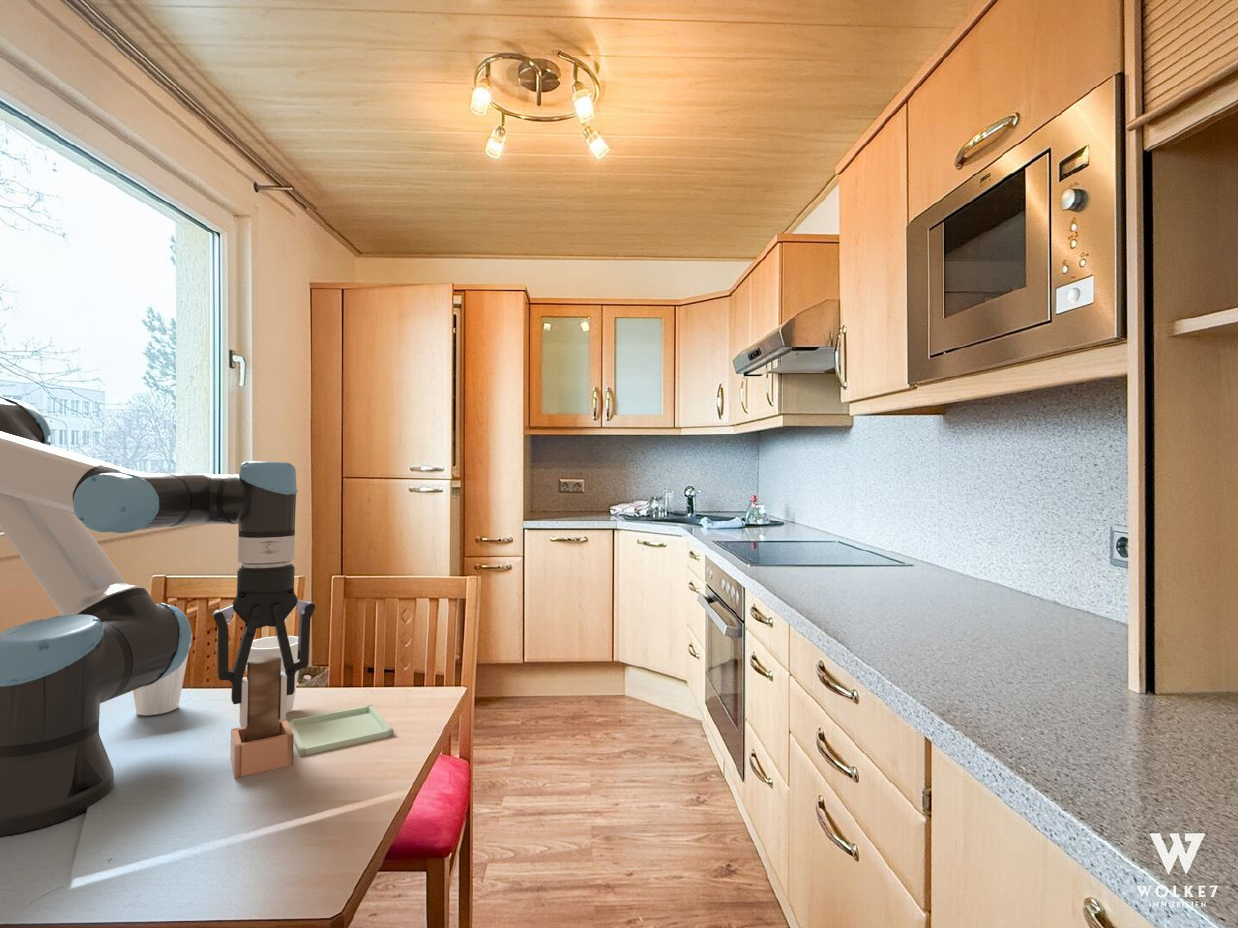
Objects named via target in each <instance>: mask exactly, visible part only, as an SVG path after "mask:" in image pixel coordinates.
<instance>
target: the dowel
mask: <svg viewBox="0 0 1238 928" xmlns="http://www.w3.org/2000/svg"><path fill="white" fill-rule="evenodd" d="M246 677H247V680H248V710H247V727H246V737H245V742H250V741H255V740H260V739H265V738H270V737H275V736H279V723H280V677H281V658H280V657H275V656H268V657H260V658H255V659H252V660H249V661H248V662H247V671H246Z"/></svg>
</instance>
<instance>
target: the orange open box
mask: <svg viewBox="0 0 1238 928" xmlns="http://www.w3.org/2000/svg"><path fill="white" fill-rule="evenodd" d="M245 737H246V727H243V728H241V726H240V727H236V728H231V731H230V764H231V768H232V769H231V770H232V772H233V777H234V779H237V778H243V777H248V776H251V775H257V774H260V773H264V772H265V773H266V772H269V771H273V770H277V769H281V768H282V769H283V768H286V767H292V766H294V743H293V741H294V734H293V732H292V730H291V728H290V726H289V724H288V722H287V718H286V720H281V721H280V723H279V736H275V737H270V738H265V739H260V740H255V741H250V742H245Z"/></svg>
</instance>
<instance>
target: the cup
mask: <svg viewBox="0 0 1238 928" xmlns="http://www.w3.org/2000/svg"><path fill="white" fill-rule="evenodd" d="M191 647H192V641H191V643H190V646H189V650H190V649H191ZM188 657H189V654H188V655H187V657H186V659H185V660H184V662H183V663H182V664H181V665H180V667H179V668H178V669H176V670H175V671H174V672H173V673H171V674H169V675H168V676H165V677H163V678H161V679H160V680H158V681H157V682H155V683H153V684H151V685H148V686H143V687H140V688H138V689H135V690H133V691H132V694H133V700H134V701H133V702H134V706H135V714H137V715H139V716H153V715H155V716H156V715H161V714H165V713H169V712H171V711H175V710H176V709H177V708H179V706H180V705H179V704H180V700H181V693H182V689H183V684H184V678H185V673H186V669H187V668H186V667H187V664H188V663H187V662H188Z"/></svg>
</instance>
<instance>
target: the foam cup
mask: <svg viewBox="0 0 1238 928" xmlns="http://www.w3.org/2000/svg"><path fill="white" fill-rule="evenodd" d="M288 640H289V644H290V648H291V653H292V657H293V661H295V660H297V656H298V636H295V635H288ZM268 656H275V657H280V658H281V672H285V668H284V664H283V660H282V656H281V652H280V647H279V643H278V639H277V635H275V636H267V637H261V638H257V639H253V642H252V646H251V649H250V653H249V657H248V660H247V662H248V661H249V660H252V659H255V658H260V657H268ZM245 670H246V672H247V664H246V668H245ZM299 673H300V670H298V671H297V672H296V673H295V688H294V693H293V694H292V695H287V697H286V714H288V713H291V712H293V709H294V705H295V697H296V689H297V686H298V685H297V684H298V680H299V679H298V678H299Z"/></svg>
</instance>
